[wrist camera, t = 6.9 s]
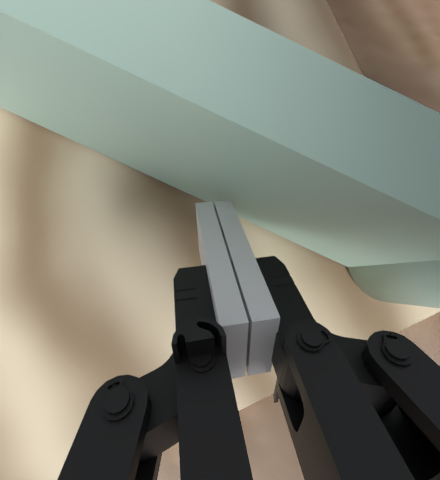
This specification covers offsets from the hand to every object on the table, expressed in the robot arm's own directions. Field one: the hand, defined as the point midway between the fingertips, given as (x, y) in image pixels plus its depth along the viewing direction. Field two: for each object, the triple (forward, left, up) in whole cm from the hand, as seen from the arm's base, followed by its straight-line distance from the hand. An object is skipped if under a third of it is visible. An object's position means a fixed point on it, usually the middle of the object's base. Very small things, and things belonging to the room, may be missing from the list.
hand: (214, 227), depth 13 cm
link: (-1, -4, -2) cm, 4 cm away
